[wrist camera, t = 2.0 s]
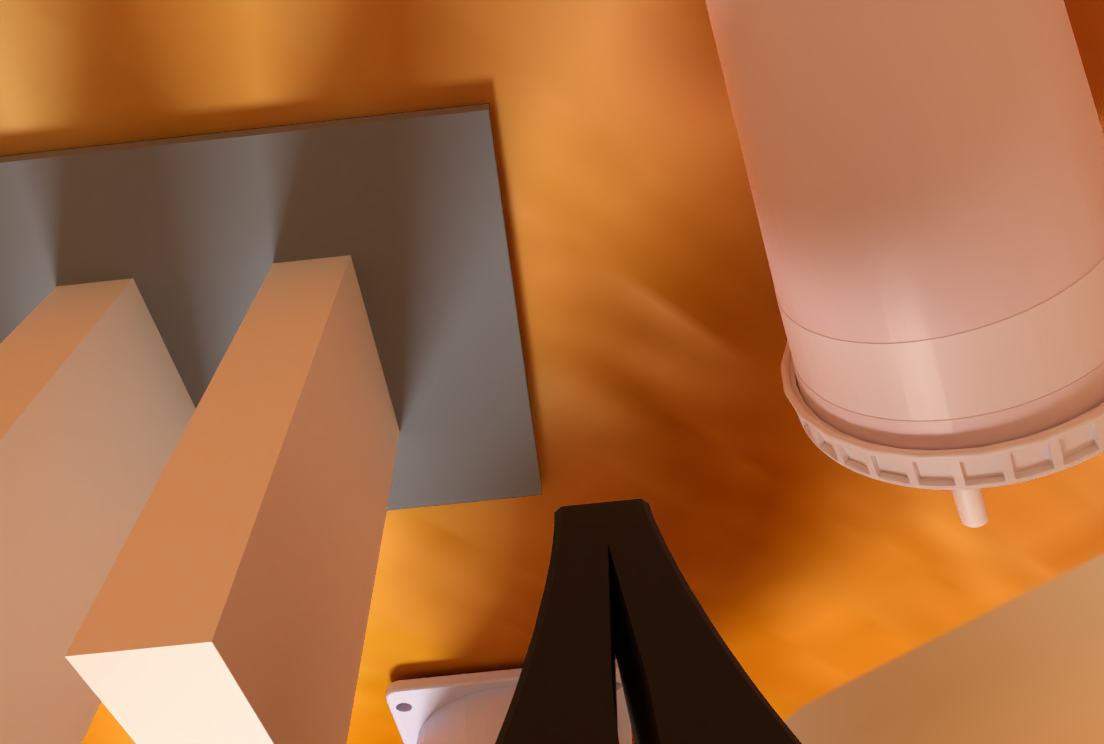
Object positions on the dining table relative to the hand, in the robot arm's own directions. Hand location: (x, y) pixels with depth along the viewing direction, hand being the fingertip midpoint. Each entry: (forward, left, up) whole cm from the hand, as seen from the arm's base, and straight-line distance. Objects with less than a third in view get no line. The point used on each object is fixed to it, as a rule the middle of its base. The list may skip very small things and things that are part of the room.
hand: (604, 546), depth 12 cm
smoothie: (+9, -4, -4) cm, 11 cm away
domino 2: (0, +5, -6) cm, 8 cm away
